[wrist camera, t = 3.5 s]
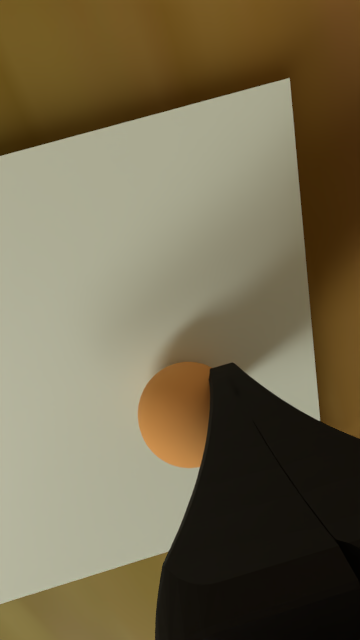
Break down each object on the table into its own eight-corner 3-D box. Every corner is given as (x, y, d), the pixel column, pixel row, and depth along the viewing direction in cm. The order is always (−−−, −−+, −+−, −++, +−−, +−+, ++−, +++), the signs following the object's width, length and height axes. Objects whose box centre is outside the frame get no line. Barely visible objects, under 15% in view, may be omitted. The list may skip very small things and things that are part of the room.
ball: (264, 437, 11) (211, 510, 9) (189, 416, 14) (131, 470, 11) (250, 350, 10) (187, 406, 8) (172, 342, 13) (104, 384, 10)
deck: (303, 462, 19) (345, 530, 15) (-110, 589, 18) (-172, 694, 14) (257, 99, 11) (318, 58, 8) (-445, 290, 11) (-752, 345, 7)
